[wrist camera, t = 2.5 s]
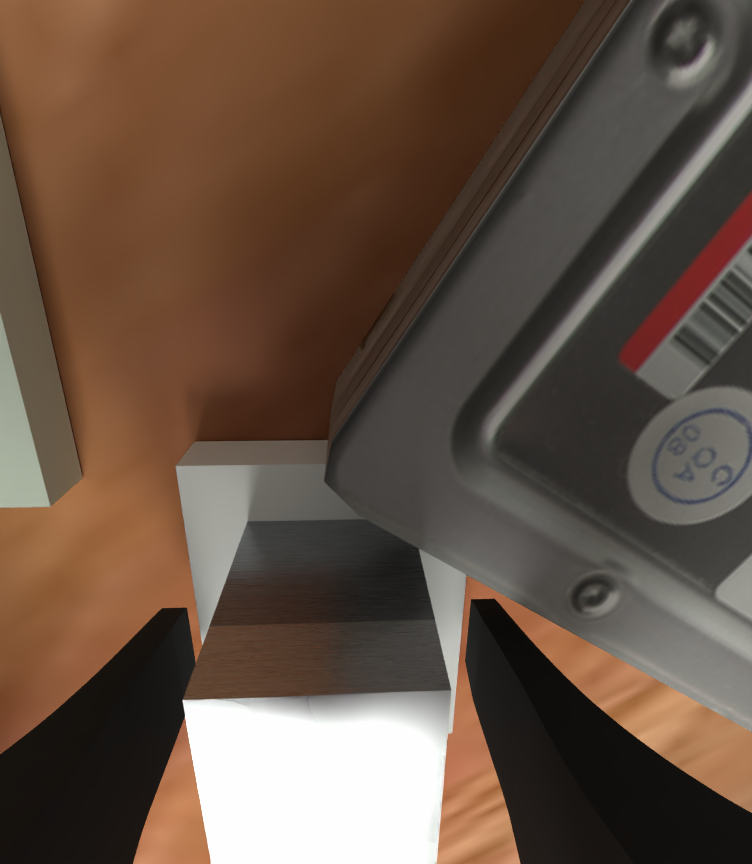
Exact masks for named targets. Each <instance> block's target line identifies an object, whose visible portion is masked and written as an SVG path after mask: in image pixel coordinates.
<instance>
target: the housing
mask: <svg viewBox="0 0 752 864" xmlns="http://www.w3.org/2000/svg"><path fill="white" fill-rule="evenodd" d="M450 700H451V686H450V682H449V678H448V673H447V669H446V665H445V660H444V656H443V652H442V647H441V643H440V639H439V634H438V630H437V626H436V622H435V617H434V613H433V609H432V604H431V600H430V596H429V591H428V587H427V583H426V578H425V574H424V570H423V566H422V561H421V557H420V553H419V548H417V547H415V546H413V545H412V544H410V543H408V542H406V541H404V540H402V539H401V538H399V537H397V536H395V535H393V534H392V533H390V532H388V531H386V530H384V529H382V528H381V527H379V526H377V525H375V524H373V523H372V522H370V521H368V520H366V519H349V520H298V521H247V523H246V526H245V529H244V532H243V535H242V537H241V540H240V543H239V546H238V548H237V551H236V554H235V557H234V559H233V562H232V565H231V568H230V570H229V573H228V576H227V579H226V582H225V584H224V587H223V590H222V593H221V595H220V598H219V601H218V604H217V606H216V609H215V612H214V615H213V617H212V620H211V623H210V626H209V629H208V631H207V634H206V637H205V640H204V642H203V645H202V648H201V651H200V653H199V656H198V659H197V662H196V664H195V667H194V670H193V673H192V676H191V678H190V681H189V684H188V687H187V689H186V692H185V695H184V698H183V700H182V701H183V706H184V712H185V717H186V723H187V729H188V734H189V740H190V746H191V751H192V757H193V762H194V768H195V774H196V779H197V785H198V791H199V796H200V802H201V808H202V813H203V819H204V824H205V830H206V836H207V841H208V847H209V853H210V858H211V864H436V863H437V851H438V839H439V828H440V816H441V805H442V793H443V782H444V770H445V758H446V747H447V735H448V724H449V712H450Z"/></svg>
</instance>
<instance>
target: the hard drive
mask: <svg viewBox="0 0 752 864" xmlns="http://www.w3.org/2000/svg"><path fill="white" fill-rule="evenodd" d="M324 482H325V483H326V484H327V485H328V486H329V487H330V488H331V489H332V490H333V491H334V492H335V493H336V494H337V495H338V496H339V497H340V498H341V499H342V500H343V501H344V502H345V503H346V504H347V505H349V506H350V507H351V508H352V509H353V510H354V511H355V512H356V513H357V514H358V515H359V516H361V517H362V518H364V519H366V520H368V521H370V522H372V523H373V524H375V525H377V526H379V527H381V528H382V529H384V530H386V531H388V532H390V533H392V534H393V535H395V536H397V537H399V538H401V539H402V540H404V541H406V542H408V543H410V544H412V545H413V546H415V547H417V548H419V549H421V550H422V551H424V552H426V553H428V554H430V555H432V556H433V557H435V558H437V559H439V560H441V561H442V562H444V563H446V564H448V565H450V566H451V567H453V568H455V569H457V570H459V571H461V572H462V573H464V574H466V575H468V576H470V577H471V578H473V579H475V580H477V581H479V582H481V583H482V584H484V585H486V586H488V587H490V588H491V589H493V590H495V591H497V592H499V593H501V594H502V595H504V596H506V597H508V598H510V599H511V600H513V601H515V602H517V603H519V604H521V605H522V606H524V607H526V608H528V609H530V610H531V611H533V612H535V613H537V614H539V615H540V616H542V617H544V618H546V619H548V620H550V621H551V622H553V623H555V624H557V625H559V626H560V627H562V628H564V629H566V630H568V631H570V632H571V633H573V634H575V635H577V636H579V637H580V638H582V639H584V640H586V641H588V642H590V643H591V644H593V645H595V646H597V647H599V648H600V649H602V650H604V651H606V652H608V653H610V654H611V655H613V656H615V657H617V658H619V659H620V660H622V661H624V662H626V663H628V664H630V665H631V666H633V667H635V668H637V669H639V670H640V671H642V672H644V673H646V674H648V675H649V676H651V677H653V678H655V679H657V680H659V681H660V682H662V683H664V684H666V685H668V686H669V687H671V688H673V689H675V690H677V691H679V692H680V693H682V694H684V695H686V696H688V697H689V698H691V699H693V700H695V701H697V702H699V703H700V704H702V705H704V706H706V707H708V708H709V709H711V710H713V711H715V712H717V713H719V714H720V715H722V716H724V717H726V718H728V719H729V720H731V721H733V722H735V723H737V724H738V725H740V726H742V727H744V728H746V729H748V730H749V731H751V732H752V0H585V2H584V3H583V5H582V6H581V8H580V9H579V11H578V12H577V14H576V15H575V17H574V19H573V20H572V22H571V23H570V25H569V26H568V28H567V29H566V31H565V32H564V34H563V35H562V37H561V38H560V40H559V41H558V43H557V45H556V46H555V48H554V49H553V51H552V52H551V54H550V55H549V57H548V58H547V60H546V61H545V63H544V64H543V66H542V67H541V69H540V70H539V72H538V74H537V75H536V77H535V78H534V80H533V81H532V83H531V84H530V86H529V87H528V89H527V90H526V92H525V93H524V95H523V96H522V98H521V100H520V101H519V103H518V104H517V106H516V107H515V109H514V110H513V112H512V113H511V115H510V116H509V118H508V119H507V121H506V122H505V124H504V125H503V127H502V129H501V130H500V132H499V133H498V135H497V136H496V138H495V139H494V141H493V142H492V144H491V145H490V147H489V148H488V150H487V151H486V153H485V155H484V156H483V158H482V159H481V161H480V162H479V164H478V165H477V167H476V168H475V170H474V171H473V173H472V174H471V176H470V177H469V179H468V181H467V182H466V184H465V185H464V187H463V188H462V190H461V191H460V193H459V194H458V196H457V197H456V199H455V200H454V202H453V203H452V205H451V206H450V208H449V210H448V211H447V213H446V214H445V216H444V217H443V219H442V220H441V222H440V223H439V225H438V226H437V228H436V229H435V231H434V232H433V234H432V236H431V237H430V239H429V240H428V242H427V243H426V245H425V246H424V248H423V249H422V251H421V252H420V254H419V255H418V257H417V258H416V260H415V261H414V263H413V265H412V266H411V268H410V269H409V271H408V272H407V274H406V275H405V277H404V278H403V280H402V281H401V283H400V284H399V286H398V287H397V289H396V291H395V292H394V294H393V295H392V297H391V298H390V300H389V301H388V303H387V304H386V306H385V307H384V309H383V310H382V312H381V313H380V315H379V317H378V318H377V320H376V321H375V323H374V324H373V326H372V327H371V329H370V330H369V332H368V333H367V335H366V336H365V338H364V339H363V341H362V342H361V344H360V346H359V347H358V349H357V350H356V352H355V353H354V355H353V356H352V358H351V359H350V361H349V362H348V364H347V365H346V367H345V368H344V370H343V372H342V373H341V375H340V376H339V378H338V379H337V381H336V387H335V392H334V397H333V402H332V408H331V415H330V425H329V435H328V445H327V455H326V465H325V476H324Z"/></svg>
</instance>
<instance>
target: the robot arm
mask: <svg viewBox="0 0 752 864" xmlns="http://www.w3.org/2000/svg"><path fill="white" fill-rule="evenodd" d="M465 662H466V667H467V672H468V677H469V683H470V687H471V692H472V697H473V701H474V704H475V708H476V711H477V714H478V717H479V720H480V724H481V727H482V730H483V733H484V736H485V739H486V742H487V745H488V748H489V751H490V755H491V758H492V761H493V764H494V767H495V770H496V773H497V776H498V779H499V782H500V785H501V789H502V792H503V795H504V798H505V802H506V805H507V809H508V812H509V816H510V820H511V824H512V829H513V833H514V837H515V841H516V846H517V850H518V854H519V859H520V863H521V864H752V813H751V812H749V811H747V810H745V809H744V808H742V807H740V806H738V805H737V804H735V803H733V802H731V801H730V800H728V799H726V798H724V797H723V796H721V795H719V794H718V793H716V792H715V791H713V790H712V789H710V788H708V787H707V786H705V785H704V784H702V783H701V782H699V781H698V780H696V779H694V778H693V777H691V776H690V775H688V774H687V773H685V772H684V771H682V770H681V769H679V768H678V767H676V766H675V765H673V764H672V763H670V762H669V761H668V760H666V759H665V758H663V757H662V756H660V755H659V754H658V753H656V752H655V751H654V750H652V749H651V748H649V747H648V746H647V745H645V744H644V743H643V742H641V741H640V740H639V739H637V738H636V737H635V736H633V735H632V734H631V733H629V732H628V731H627V730H626V729H624V728H623V727H622V726H620V725H619V724H618V723H617V722H616V721H614V720H613V719H612V718H611V717H610V716H608V715H607V714H606V713H605V712H604V711H602V710H601V709H600V708H599V707H598V706H596V705H595V704H594V703H593V702H592V701H591V700H590V699H588V698H587V697H586V696H585V695H584V694H583V693H582V692H581V691H580V690H579V689H578V688H577V687H576V686H575V685H574V684H573V683H571V682H570V681H569V680H568V679H567V678H566V677H565V676H564V675H563V674H562V673H561V672H560V671H559V670H558V669H557V668H556V667H555V666H554V665H553V664H552V662H551V661H550V660H549V659H548V658H547V657H546V656H545V655H544V654H543V653H542V652H541V651H540V650H539V649H538V648H537V647H536V645H535V644H534V643H533V642H532V641H531V640H530V639H529V638H528V637H527V635H526V634H525V633H524V632H523V631H522V630H521V629H520V627H519V626H518V625H517V624H516V623H515V622H514V621H513V619H512V618H511V617H510V616H509V615H508V613H507V612H506V611H505V610H504V609H503V608H502V606H501V605H500V604H499V603H498V602H497V601H496V600H495V599H471V607H470V617H469V627H468V638H467V648H466V658H465ZM195 664H196V662H195V656H194V650H193V643H192V637H191V631H190V625H189V618H188V612H187V608H162V609H161V610H160V611H159V612H158V613H157V614H156V615H155V616H154V617H153V618H152V619H151V620H150V621H149V622H148V623H147V624H146V625H145V626H144V627H143V628H142V629H141V630H140V631H139V632H138V633H137V634H136V635H135V636H134V637H133V638H132V639H131V640H130V641H129V642H128V643H127V644H126V645H125V646H124V647H123V648H122V649H121V650H120V651H119V652H118V653H117V654H116V655H115V656H114V657H113V658H112V659H111V660H110V661H109V662H108V663H107V664H106V665H105V666H104V667H103V668H102V669H101V670H100V671H99V672H97V673H96V674H95V675H94V676H93V677H92V678H91V679H90V680H89V681H88V682H87V683H86V684H85V685H84V686H82V687H81V688H80V689H79V690H78V691H77V692H76V693H75V694H74V695H73V696H71V697H70V698H69V699H68V700H67V701H66V702H65V703H64V704H63V705H61V706H60V707H59V708H58V709H57V710H56V711H55V712H53V713H52V714H51V715H50V716H49V717H47V718H46V719H45V720H44V721H43V722H41V723H40V724H39V725H38V726H36V727H35V728H34V729H33V730H31V731H30V732H29V733H28V734H26V735H25V736H24V737H22V738H21V739H20V740H19V741H17V742H16V743H15V744H14V745H12V746H11V747H10V748H8V749H7V750H6V751H4V752H3V753H2V754H0V864H133V861H134V857H135V854H136V850H137V847H138V843H139V840H140V837H141V833H142V831H143V828H144V825H145V822H146V819H147V816H148V813H149V810H150V807H151V805H152V802H153V800H154V797H155V794H156V792H157V789H158V786H159V784H160V781H161V778H162V776H163V773H164V771H165V768H166V765H167V763H168V760H169V757H170V755H171V752H172V749H173V747H174V744H175V741H176V739H177V736H178V733H179V731H180V728H181V725H182V723H183V720H184V717H185V712H184V706H183V701H182V700H183V698H184V695H185V692H186V689H187V687H188V684H189V681H190V678H191V676H192V673H193V670H194V667H195Z"/></svg>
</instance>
